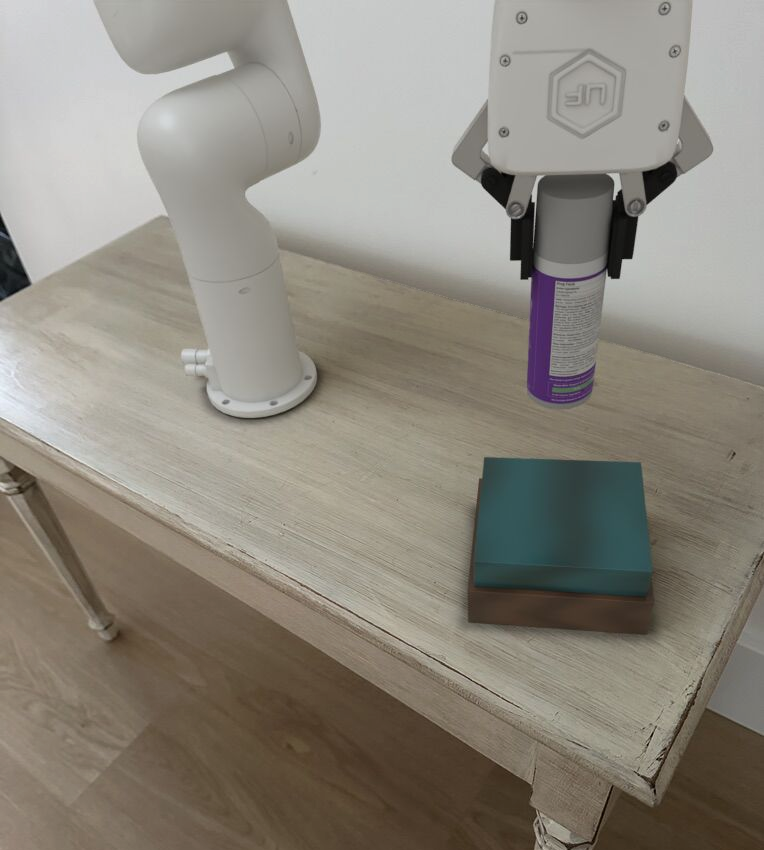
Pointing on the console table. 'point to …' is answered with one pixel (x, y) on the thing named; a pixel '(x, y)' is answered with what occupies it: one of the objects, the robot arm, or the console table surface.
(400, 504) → the console table surface
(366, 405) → the console table surface
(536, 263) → the container
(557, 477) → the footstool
